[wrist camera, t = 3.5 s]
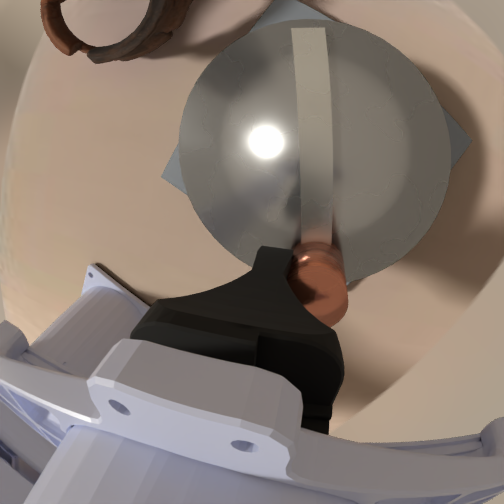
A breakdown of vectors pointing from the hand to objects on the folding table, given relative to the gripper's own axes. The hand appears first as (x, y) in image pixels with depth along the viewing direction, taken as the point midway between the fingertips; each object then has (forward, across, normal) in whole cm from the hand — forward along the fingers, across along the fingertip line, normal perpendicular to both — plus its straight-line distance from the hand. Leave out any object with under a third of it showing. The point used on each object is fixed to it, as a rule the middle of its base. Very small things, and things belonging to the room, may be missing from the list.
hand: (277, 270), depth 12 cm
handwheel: (+4, -1, -5) cm, 6 cm away
